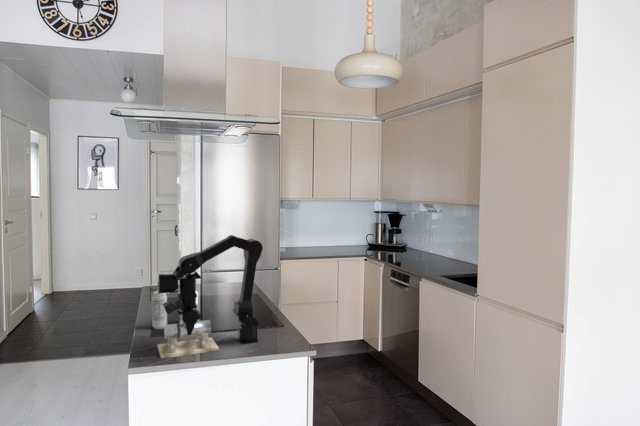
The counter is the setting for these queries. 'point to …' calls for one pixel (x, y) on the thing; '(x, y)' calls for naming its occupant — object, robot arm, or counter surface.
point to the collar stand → (187, 346)
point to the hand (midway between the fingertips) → (188, 332)
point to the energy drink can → (159, 310)
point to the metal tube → (180, 330)
